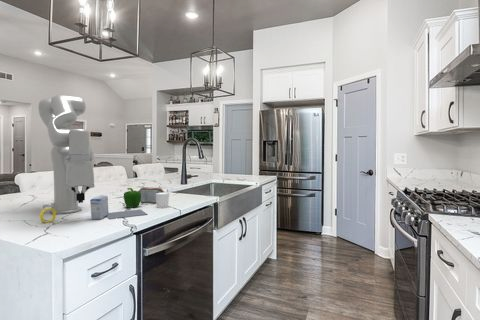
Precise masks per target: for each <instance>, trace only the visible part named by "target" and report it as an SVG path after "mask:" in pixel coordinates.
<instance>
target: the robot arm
mask: <svg viewBox="0 0 480 320" xmlns="http://www.w3.org/2000/svg"><path fill="white" fill-rule="evenodd" d="M37 106H38V113H39V116H40V118H41V121H42V123H44V125H45V126H46V128H47V133H48V137H49V139H50V140H49V141H50V142H51V145H52V146H53V147H52V148H51V150H50V157H51V162H52V169H53V170H52V171H53V193H54V194H53V195H54V197H53V199H54V201H53V202H51V203H50V204H42V209H43V210H44V208H46V207H52V209H54V210H55V211H56V215H57V214H58V215H62V214H71V213H77V212H80V211H82V207H81V206H79V204H80V203H81V204H82V203H84V201H85V200H86V199H85V197H86V195H85V194H86V192H88V190H89V189H93V188H95V173H94V165H93V160H94V152H93V149H92V145H91V143H90V131H89V130H87V129H84V128H72V129H70V128H68V127H70V126H72V125H74V124H75V123H76V121H77V120H78V119H77V118H78V116H81V115H83V114H84V113H85V111H86V103H85V100H84V99H83V98H82V97H80V96H75V95H66V94H65V95H64V94H57V95H54V96H52V97H51V98H43V99H41V100H40V101H39V102H38V105H37ZM79 187H81V191H80V190H79ZM50 213H51V214H53V212H52V210H50Z"/></svg>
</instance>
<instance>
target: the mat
mask: <svg viewBox="0 0 480 320" xmlns="http://www.w3.org/2000/svg"><path fill="white" fill-rule="evenodd" d="M140 216H148V213H147V212H145V211H144V210H143V209H132V210H123V211H114V212H109V214H108V215H106V216H105V217H107V219H108V220H116V218H117V219H123V218H132V217H140Z"/></svg>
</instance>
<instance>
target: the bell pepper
mask: <svg viewBox="0 0 480 320" xmlns="http://www.w3.org/2000/svg"><path fill="white" fill-rule="evenodd" d="M123 201H124V204H125V206H126V208H129V209H130V208H137V207H139V206H140V204H141V192H140V191H139V190H138V191H137V190H134V189H133V187H128V188H127V191H125V192H124V193H123Z"/></svg>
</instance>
